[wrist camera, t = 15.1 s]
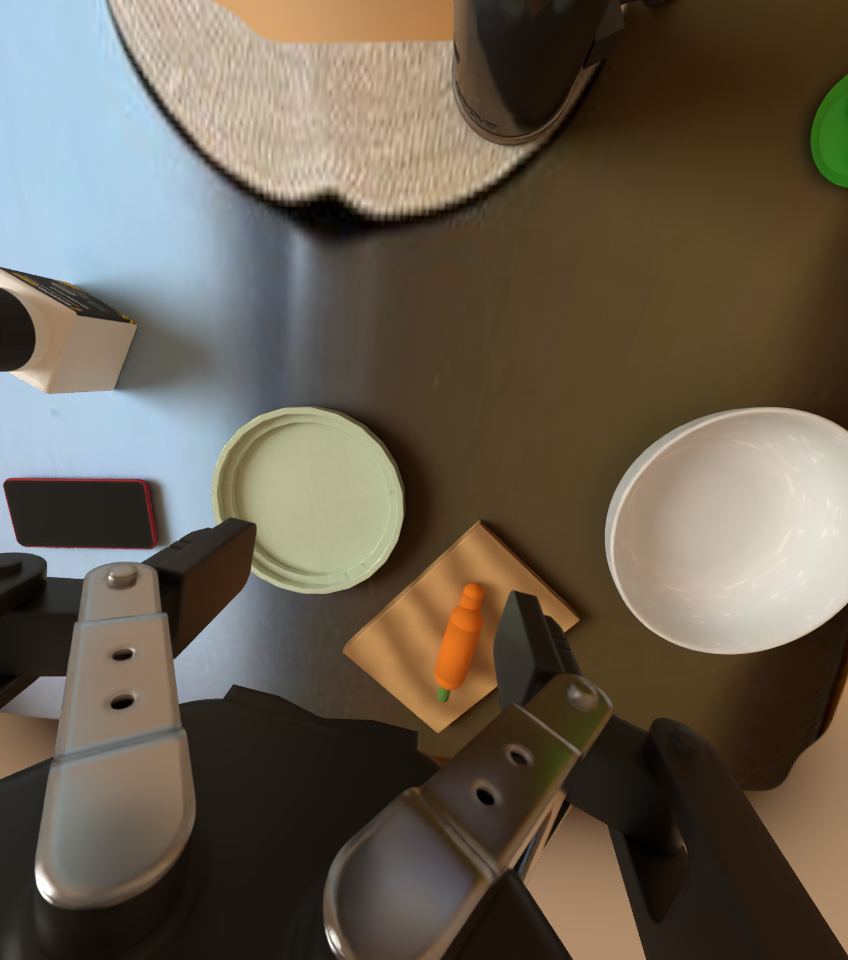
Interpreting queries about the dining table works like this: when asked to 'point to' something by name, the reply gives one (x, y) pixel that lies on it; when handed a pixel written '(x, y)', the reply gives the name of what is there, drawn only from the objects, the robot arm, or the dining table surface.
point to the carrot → (459, 642)
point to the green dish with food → (832, 135)
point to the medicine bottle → (60, 335)
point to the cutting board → (425, 615)
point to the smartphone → (81, 513)
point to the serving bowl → (734, 530)
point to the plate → (311, 497)
